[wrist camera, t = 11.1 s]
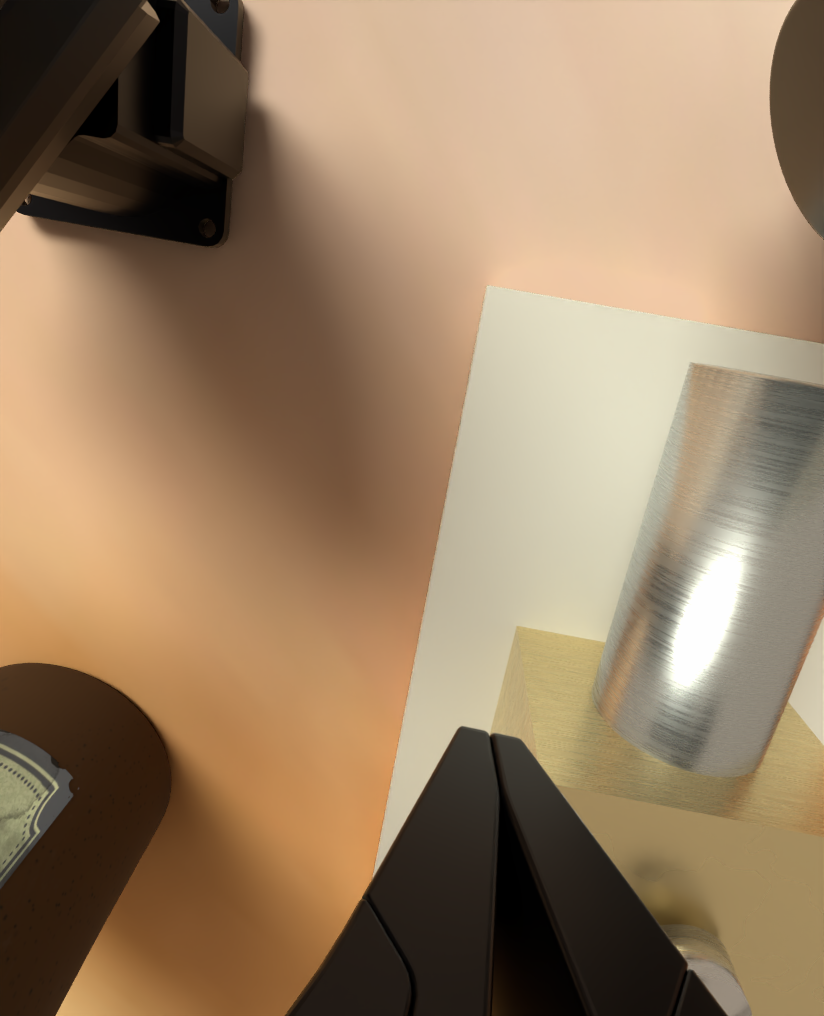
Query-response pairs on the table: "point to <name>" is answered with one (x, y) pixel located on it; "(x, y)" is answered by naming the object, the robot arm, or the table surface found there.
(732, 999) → the valve lever
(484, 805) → the robot arm
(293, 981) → the table surface
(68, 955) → the olive oil
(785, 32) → the pneumatic valve
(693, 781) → the valve body
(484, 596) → the mount board
